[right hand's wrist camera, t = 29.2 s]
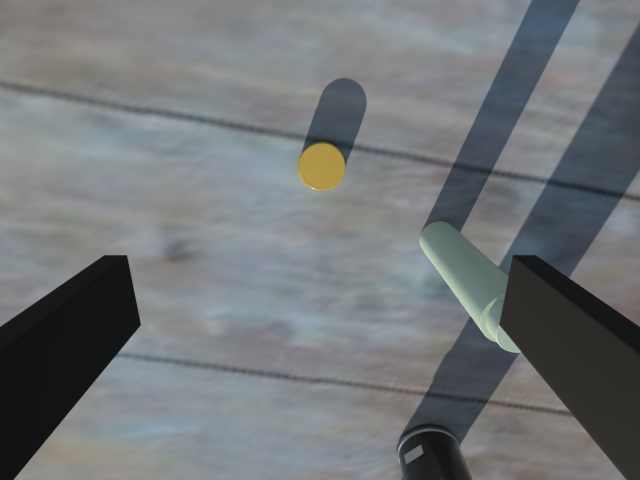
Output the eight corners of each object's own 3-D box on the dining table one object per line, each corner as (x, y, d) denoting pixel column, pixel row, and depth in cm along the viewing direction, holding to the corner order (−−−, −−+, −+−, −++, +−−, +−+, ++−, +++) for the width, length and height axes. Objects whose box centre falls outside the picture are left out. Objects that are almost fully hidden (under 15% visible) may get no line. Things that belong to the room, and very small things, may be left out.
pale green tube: (459, 249, 44) (557, 348, 26) (424, 259, 45) (495, 364, 27) (452, 216, 43) (549, 296, 25) (415, 227, 44) (485, 315, 25)
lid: (293, 146, 40) (292, 148, 38) (339, 136, 40) (340, 137, 38) (304, 191, 42) (304, 195, 40) (348, 181, 42) (350, 185, 40)
